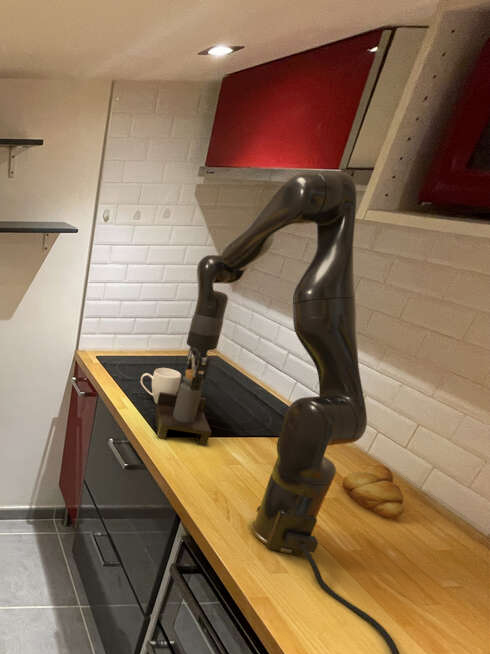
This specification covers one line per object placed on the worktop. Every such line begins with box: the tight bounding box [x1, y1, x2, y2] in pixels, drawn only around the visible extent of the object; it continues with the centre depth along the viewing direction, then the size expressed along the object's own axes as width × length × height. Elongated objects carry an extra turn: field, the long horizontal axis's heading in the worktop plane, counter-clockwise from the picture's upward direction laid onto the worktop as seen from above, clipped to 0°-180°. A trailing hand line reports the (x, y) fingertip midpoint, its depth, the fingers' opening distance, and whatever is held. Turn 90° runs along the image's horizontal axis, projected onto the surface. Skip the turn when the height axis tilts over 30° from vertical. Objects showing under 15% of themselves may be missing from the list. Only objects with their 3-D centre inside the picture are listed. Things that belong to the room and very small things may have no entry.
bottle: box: [173, 369, 204, 423], centre depth 129 cm, size 6×6×15 cm
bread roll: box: [342, 464, 405, 519], centre depth 105 cm, size 13×10×8 cm
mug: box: [140, 367, 182, 405], centre depth 151 cm, size 12×8×11 cm
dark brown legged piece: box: [153, 392, 212, 447], centre depth 133 cm, size 14×13×9 cm
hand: (191, 383), depth 128 cm, fingers open, 8 cm apart
